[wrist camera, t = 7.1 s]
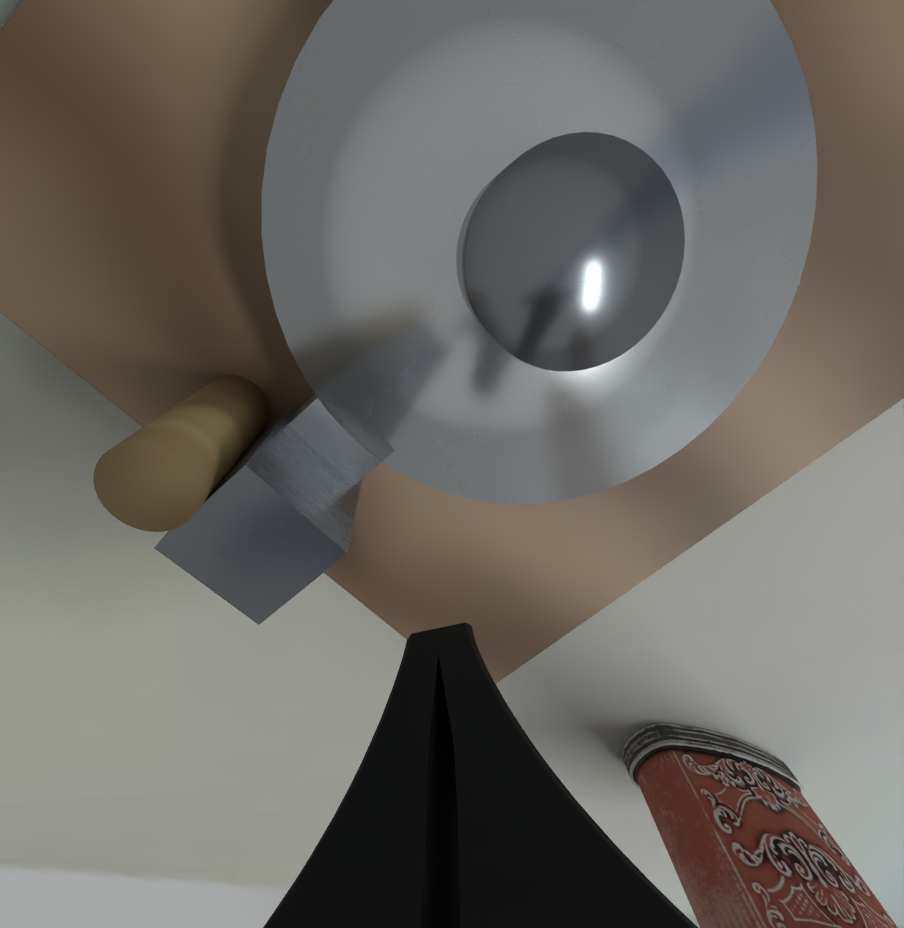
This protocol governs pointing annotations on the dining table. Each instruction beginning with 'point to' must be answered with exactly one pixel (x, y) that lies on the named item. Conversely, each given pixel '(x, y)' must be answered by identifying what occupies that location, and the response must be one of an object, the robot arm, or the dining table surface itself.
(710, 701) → the dining table surface
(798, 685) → the dining table surface
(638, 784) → the lighter
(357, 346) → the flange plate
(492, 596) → the walnut board
